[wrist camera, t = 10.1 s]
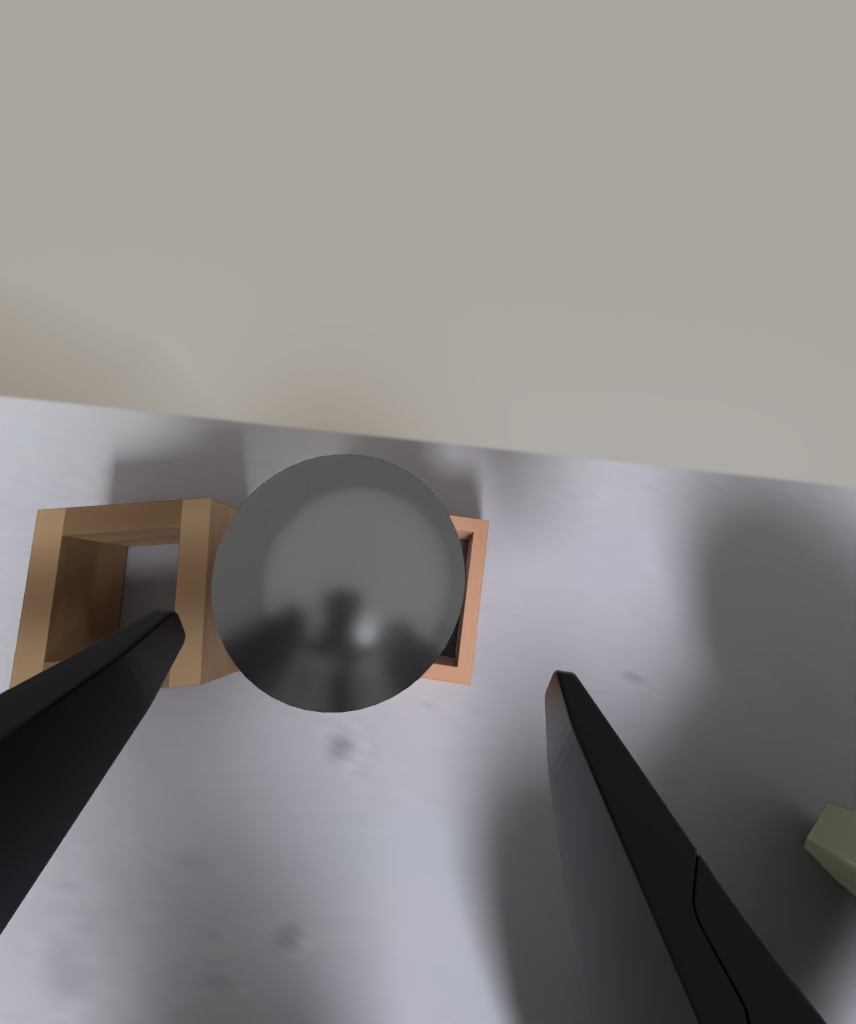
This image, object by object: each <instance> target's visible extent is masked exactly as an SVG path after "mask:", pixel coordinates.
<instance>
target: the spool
mask: <svg viewBox="0 0 856 1024" xmlns="http://www.w3.org/2000/svg"><path fill="white" fill-rule="evenodd" d="M804 848H805V849H806V850H807V851H808V852H809V853H810V854H811V855H812V856H813V857H814V858H815V859H816V860H817V861H818V862H819V863H820V864H821V865H822V866H823V867H824V868H825V869H826V870H827V871H828V872H829V873H830V874H831V875H832V876H833V877H834V878H835V879H836V880H837V881H838V882H839V883H840V884H841V885H842V886H844V887H845V888H846V889H847V890H848V891H849V892H850V893H852V894H853V895H854V896H855V897H856V812H855V811H852V810H849V809H846V808H843V807H840V806H837V805H834V804H831V803H828V804H827V805H826V807H825V809H824V810H823V812H822V814H821V815H820V817H819V818H818V820H817V822H816V823H815V825H814V827H813V828H812V830H811V832H810V833H809V835H808V836H807V838H806V842H805V846H804Z"/></svg>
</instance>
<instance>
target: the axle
mask: <svg viewBox="0 0 856 1024" xmlns="http://www.w3.org/2000/svg"><path fill="white" fill-rule="evenodd" d="M464 587H465V564H464V558H463V552H462V547H461V544H460V540H459V537H458V533H457V531H456V529H455V526H454V524H453V522H452V520H451V518H450V516H449V514H448V513H447V511H446V509H445V508H444V506H443V505H442V503H441V502H440V501H439V500H438V498H437V497H436V496H435V495H434V494H433V492H432V491H431V490H430V489H429V488H427V487H426V486H425V485H424V484H423V483H422V482H421V481H420V480H418V479H417V478H415V477H414V476H413V475H411V474H410V473H409V472H407V471H405V470H403V469H401V468H399V467H397V466H395V465H393V464H390V463H388V462H385V461H383V460H379V459H375V458H371V457H367V456H359V455H330V456H323V457H318V458H314V459H310V460H306V461H303V462H301V463H298V464H296V465H293V466H291V467H289V468H287V469H285V470H283V471H281V472H279V473H278V474H276V475H274V476H273V477H272V478H270V479H269V480H267V481H266V482H265V483H263V484H262V485H261V486H260V487H259V488H258V489H256V490H255V491H254V492H253V493H252V494H251V495H250V496H249V497H248V498H247V500H246V501H245V502H244V503H243V504H242V505H241V506H240V508H239V509H238V511H237V512H236V514H235V515H234V516H233V518H232V519H231V521H230V523H229V525H228V527H227V529H226V531H225V532H224V534H223V537H222V539H221V542H220V545H219V547H218V550H217V554H216V558H215V562H214V566H213V573H212V582H211V595H212V607H213V614H214V619H215V623H216V626H217V629H218V633H219V636H220V638H221V640H222V642H223V645H224V647H225V649H226V651H227V652H228V654H229V656H230V657H231V659H232V660H233V662H234V664H235V665H236V666H237V667H238V668H239V670H240V671H241V672H242V673H243V674H244V675H245V677H246V678H247V679H249V680H250V681H251V682H252V683H253V684H254V685H255V686H257V687H258V688H259V689H260V690H262V691H263V692H265V693H266V694H268V695H270V696H271V697H273V698H275V699H277V700H279V701H281V702H283V703H285V704H288V705H290V706H294V707H297V708H301V709H304V710H309V711H316V712H347V711H354V710H360V709H363V708H366V707H370V706H373V705H376V704H379V703H381V702H383V701H385V700H388V699H390V698H392V697H394V696H395V695H397V694H399V693H400V692H402V691H403V690H405V689H407V688H408V687H409V686H411V685H412V684H413V683H414V682H415V681H417V680H418V679H419V678H420V677H421V676H422V675H423V674H424V673H425V672H426V671H427V670H428V669H429V668H430V667H431V666H432V665H433V664H434V662H435V661H436V660H437V658H438V657H439V655H440V654H441V653H442V651H443V650H444V648H445V647H446V645H447V643H448V641H449V639H450V637H451V635H452V633H453V631H454V629H455V626H456V623H457V621H458V618H459V615H460V611H461V606H462V602H463V597H464Z"/></svg>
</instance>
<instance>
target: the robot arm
mask: <svg viewBox="0 0 856 1024" xmlns="http://www.w3.org/2000/svg"><path fill="white" fill-rule="evenodd" d="M185 637H186V634H185V630H184V628H183V625H182V622H181V620H180V617H179V615H178V613H177V612H175V611H171V610H164V609H158V610H155V611H153V612H151V613H149V614H148V615H146V616H144V617H142V618H140V619H138V620H136V621H135V622H133V623H131V624H129V625H127V626H125V627H123V628H122V629H120V630H118V631H116V632H114V633H112V634H110V635H109V636H107V637H105V638H103V639H101V640H99V641H97V642H96V643H94V644H92V645H90V646H88V647H86V648H84V649H83V650H81V651H79V652H77V653H75V654H73V655H71V656H70V657H68V658H66V659H64V660H62V661H60V662H58V663H57V664H55V665H53V666H51V667H49V668H47V669H45V670H44V671H42V672H40V673H38V674H36V675H34V676H32V677H31V678H29V679H27V680H25V681H23V682H21V683H19V684H18V685H16V686H14V687H12V688H10V689H8V690H6V691H5V692H3V693H1V694H0V935H1V933H2V932H3V930H4V929H5V927H6V925H7V924H8V922H9V921H10V919H11V918H12V916H13V915H14V913H15V912H16V910H17V909H18V907H19V906H20V904H21V903H22V901H23V900H24V898H25V897H26V895H27V893H28V892H29V890H30V889H31V887H32V886H33V884H34V883H35V881H36V880H37V878H38V877H39V875H40V874H41V872H42V871H43V869H44V868H45V866H46V865H47V863H48V862H49V860H50V858H51V857H52V855H53V854H54V852H55V851H56V849H57V848H58V846H59V845H60V843H61V842H62V840H63V839H64V837H65V836H66V834H67V833H68V831H69V830H70V828H71V826H72V825H73V823H74V822H75V820H76V819H77V817H78V816H79V814H80V813H81V811H82V810H83V808H84V807H85V805H86V804H87V802H88V801H89V799H90V798H91V796H92V794H93V793H94V791H95V790H96V788H97V787H98V785H99V784H100V782H101V781H102V779H103V778H104V776H105V775H106V773H107V772H108V770H109V769H110V767H111V766H112V764H113V763H114V761H115V759H116V758H117V756H118V755H119V753H120V752H121V750H122V749H123V747H124V746H125V744H126V743H127V741H128V740H129V738H130V737H131V735H132V734H133V732H134V731H135V729H136V727H137V726H138V724H139V723H140V721H141V720H142V718H143V717H144V715H145V714H146V712H147V710H148V709H149V707H150V706H151V704H152V702H153V700H154V699H155V697H156V695H157V693H158V691H159V690H160V688H161V686H162V684H163V682H164V680H165V678H166V676H167V675H168V673H169V671H170V669H171V667H172V665H173V663H174V661H175V660H176V658H177V656H178V654H179V652H180V650H181V648H182V646H183V644H184V642H185ZM545 712H546V733H547V754H548V771H549V779H550V787H551V793H552V800H553V807H554V813H555V820H556V826H557V833H558V840H559V846H560V853H561V860H562V866H563V873H564V879H565V886H566V893H567V899H568V906H569V912H570V919H571V926H572V932H573V939H574V945H575V952H576V959H577V965H578V972H579V978H580V985H581V992H582V998H583V1005H584V1011H585V1018H586V1024H827V1023H826V1022H825V1021H824V1020H823V1018H822V1017H821V1016H820V1014H819V1013H818V1012H817V1011H816V1009H815V1008H814V1007H813V1006H812V1004H811V1003H810V1002H809V1000H808V999H807V998H806V997H805V995H804V994H803V993H802V992H801V990H800V989H799V988H798V986H797V985H796V984H795V983H794V981H793V980H792V979H791V978H790V976H789V975H788V974H787V972H786V971H785V970H784V969H783V967H782V966H781V965H780V963H779V962H778V961H777V959H776V958H775V957H774V956H773V954H772V953H771V952H770V950H769V949H768V948H767V946H766V945H765V944H764V942H763V941H762V940H761V938H760V937H759V936H758V935H757V933H756V932H755V931H754V929H753V928H752V927H751V925H750V924H749V923H748V921H747V920H746V919H745V917H744V916H743V914H742V913H741V912H740V910H739V909H738V908H737V906H736V905H735V903H734V902H733V901H732V899H731V898H730V896H729V895H728V894H727V892H726V891H725V889H724V888H723V887H722V885H721V884H720V882H719V881H718V880H717V878H716V877H715V875H714V874H713V872H712V871H711V869H710V868H709V867H708V865H707V864H706V862H705V861H704V859H703V858H702V856H701V855H697V850H696V848H695V847H694V845H693V844H692V842H691V841H690V839H689V838H688V836H687V835H686V834H685V832H684V831H683V829H682V828H681V826H680V825H679V823H678V822H677V821H676V819H675V818H674V816H673V815H672V813H671V812H670V810H669V809H668V808H667V806H666V805H665V803H664V802H663V800H662V799H661V797H660V796H659V795H658V793H657V792H656V790H655V789H654V787H653V786H652V784H651V783H650V782H649V780H648V779H647V777H646V776H645V774H644V773H643V771H642V770H641V769H640V767H639V766H638V764H637V763H636V761H635V760H634V758H633V757H632V756H631V754H630V753H629V751H628V750H627V748H626V747H625V745H624V744H623V743H622V741H621V740H620V738H619V737H618V735H617V734H616V732H615V731H614V730H613V728H612V727H611V725H610V724H609V722H608V721H607V719H606V718H605V717H604V715H603V714H602V712H601V711H600V709H599V708H598V706H597V705H596V704H595V702H594V701H593V699H592V698H591V696H590V695H589V693H588V692H587V691H586V689H585V688H584V686H583V685H582V683H581V682H580V680H579V679H578V678H577V676H576V675H575V674H574V673H572V672H567V671H561V670H556V671H555V672H554V673H553V676H552V678H551V680H550V683H549V685H548V688H547V690H546V694H545Z"/></svg>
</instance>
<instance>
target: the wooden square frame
mask: <svg viewBox="0 0 856 1024" xmlns="http://www.w3.org/2000/svg"><path fill="white" fill-rule="evenodd" d="M237 511H238V509H235V508H233V507H231V506H228V505H226V504H224V503H222V502H219V501H217V500H215V499H213V498H201V499H186V500H172V501H158V502H143V503H129V504H115V505H100V506H86V507H72V508H57V509H43V510H38V512H37V518H36V524H35V531H34V537H33V543H32V550H31V556H30V562H29V569H28V575H27V581H26V588H25V594H24V600H23V607H22V613H21V619H20V625H19V632H18V638H17V644H16V651H15V657H14V663H13V670H12V676H11V682H10V688H12V687H14V686H16V685H18V684H19V683H21V682H23V681H25V680H27V679H29V678H31V677H32V676H34V675H36V674H38V673H40V672H42V671H44V670H45V669H47V668H49V667H51V666H53V665H55V664H57V663H58V662H60V661H62V660H64V659H66V658H68V657H70V656H71V655H73V654H75V653H77V652H79V651H81V650H83V649H84V648H86V647H88V646H90V645H92V644H94V643H96V642H97V641H99V640H101V639H103V638H105V637H107V636H109V635H110V634H112V633H114V632H116V631H118V630H119V624H120V614H121V604H122V595H123V585H124V575H125V566H126V556H127V547H128V546H142V545H157V544H171V543H180V544H179V557H178V570H177V584H176V597H175V612H177V613H178V615H179V617H180V620H181V622H182V625H183V628H184V630H185V634H186V637H185V642H184V644H183V646H182V648H181V650H180V652H179V654H178V656H177V658H176V660H175V661H174V663H173V665H172V667H171V669H170V671H169V673H168V675H167V676H166V678H165V680H164V682H163V684H162V686H161V687H176V686H191V685H201V684H204V683H206V682H209V681H212V680H215V679H217V678H220V677H223V676H225V675H228V674H231V673H233V672H236V671H239V668H238V667H237V666H236V665H235V664H234V662H233V660H232V659H231V657H230V656H229V654H228V652H227V651H226V649H225V647H224V645H223V642H222V640H221V638H220V636H219V633H218V629H217V626H216V623H215V619H214V614H213V607H212V595H211V582H212V573H213V566H214V562H215V558H216V554H217V550H218V547H219V545H220V542H221V539H222V537H223V534H224V532H225V531H226V529H227V527H228V525H229V523H230V521H231V519H232V518H233V516H234V515H235V514H236V512H237Z"/></svg>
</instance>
